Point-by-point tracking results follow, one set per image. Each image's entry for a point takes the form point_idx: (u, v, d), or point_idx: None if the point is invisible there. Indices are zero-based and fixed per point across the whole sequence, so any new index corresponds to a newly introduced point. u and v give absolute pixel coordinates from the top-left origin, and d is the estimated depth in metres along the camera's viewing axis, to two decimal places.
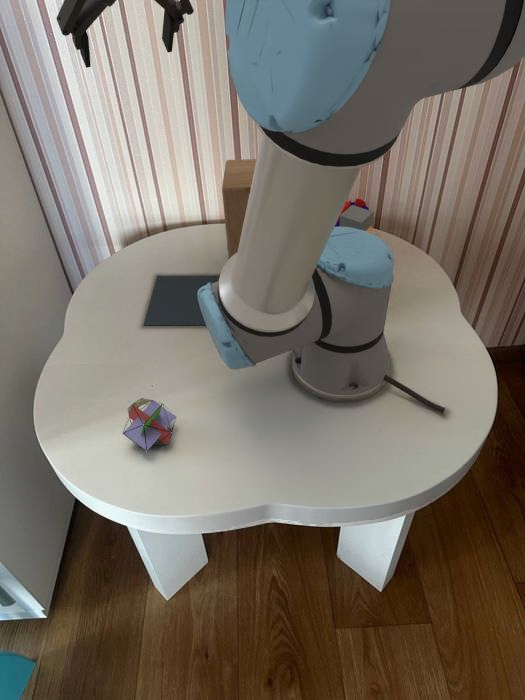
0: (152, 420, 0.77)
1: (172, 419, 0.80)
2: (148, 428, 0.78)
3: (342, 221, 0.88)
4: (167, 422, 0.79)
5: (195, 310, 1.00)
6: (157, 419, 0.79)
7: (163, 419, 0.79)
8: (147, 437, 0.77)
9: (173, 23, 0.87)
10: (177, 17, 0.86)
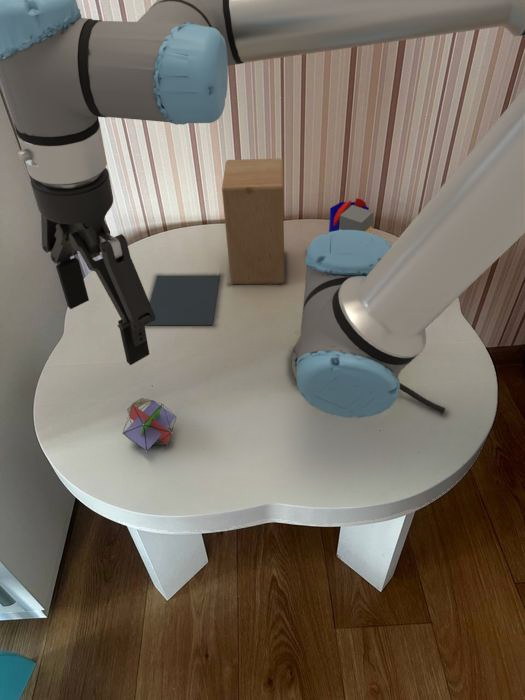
0: (152, 420, 0.77)
1: (172, 419, 0.80)
2: (148, 428, 0.78)
3: (342, 221, 0.88)
4: (167, 422, 0.79)
5: (195, 310, 1.00)
6: (157, 419, 0.79)
7: (163, 419, 0.79)
8: (147, 437, 0.77)
9: None
10: None
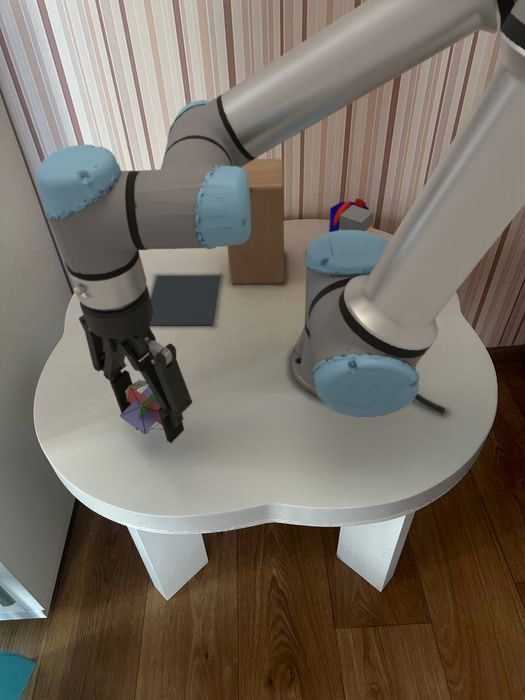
0: (150, 402, 0.74)
1: None
2: (146, 411, 0.75)
3: (342, 221, 0.88)
4: None
5: (195, 310, 1.00)
6: (156, 402, 0.76)
7: None
8: (145, 420, 0.74)
9: None
10: None
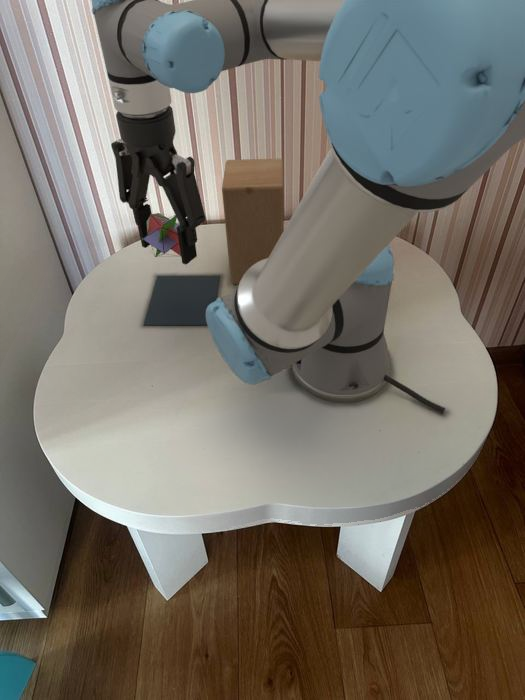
0: (168, 228, 0.87)
1: None
2: (164, 237, 0.88)
3: None
4: None
5: (195, 310, 1.00)
6: None
7: None
8: (164, 244, 0.88)
9: None
10: None
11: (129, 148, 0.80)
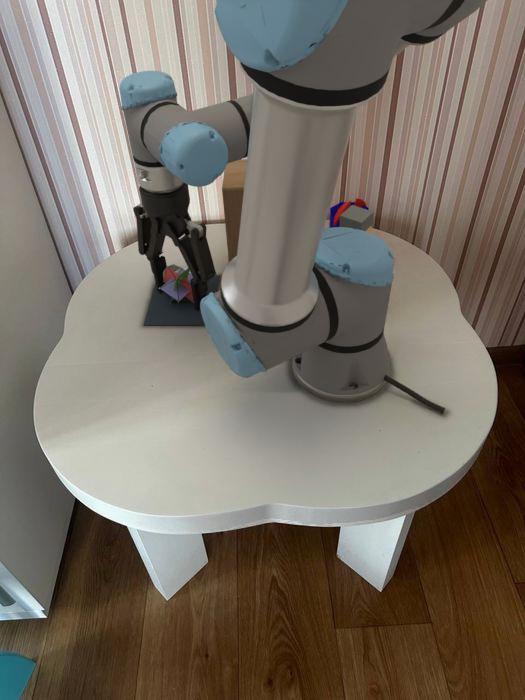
0: (182, 279, 0.99)
1: None
2: (179, 286, 1.00)
3: (342, 221, 0.88)
4: None
5: (195, 310, 1.00)
6: None
7: None
8: (178, 292, 0.99)
9: None
10: None
11: (149, 213, 0.91)
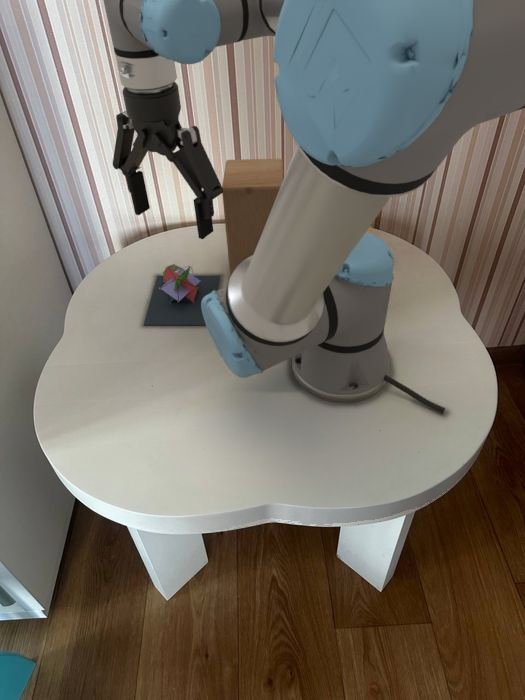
0: (182, 279, 0.99)
1: (197, 282, 1.02)
2: (179, 286, 1.00)
3: None
4: (193, 284, 1.01)
5: (195, 310, 1.00)
6: None
7: (190, 281, 1.01)
8: (178, 292, 0.99)
9: None
10: (136, 166, 0.90)
11: (135, 125, 0.81)
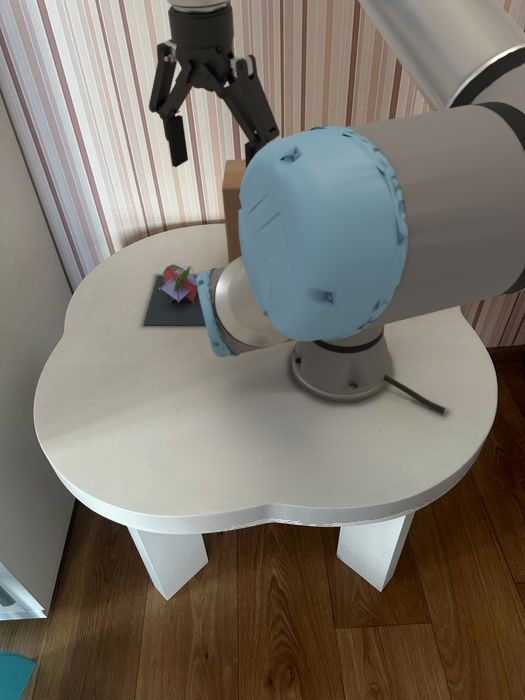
0: (182, 279, 0.99)
1: None
2: (179, 286, 1.00)
3: None
4: (193, 284, 1.01)
5: (195, 310, 1.00)
6: None
7: (190, 281, 1.01)
8: (178, 292, 0.99)
9: None
10: (175, 109, 0.79)
11: (179, 56, 0.70)
